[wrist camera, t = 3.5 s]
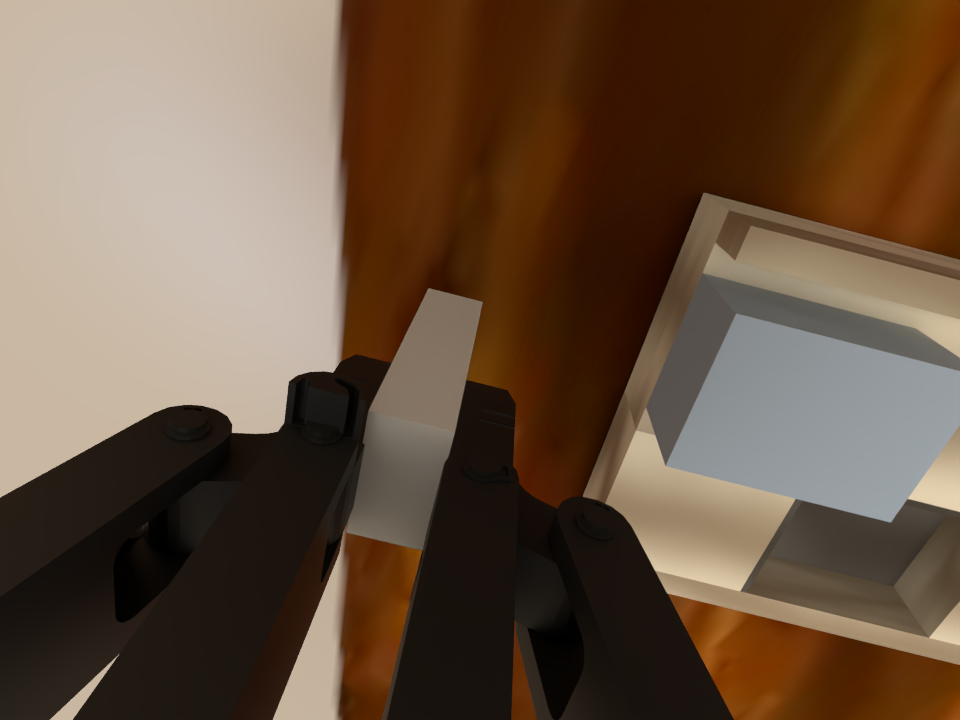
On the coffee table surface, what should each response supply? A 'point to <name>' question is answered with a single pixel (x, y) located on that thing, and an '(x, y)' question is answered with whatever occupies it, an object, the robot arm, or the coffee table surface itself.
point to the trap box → (780, 519)
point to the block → (803, 399)
